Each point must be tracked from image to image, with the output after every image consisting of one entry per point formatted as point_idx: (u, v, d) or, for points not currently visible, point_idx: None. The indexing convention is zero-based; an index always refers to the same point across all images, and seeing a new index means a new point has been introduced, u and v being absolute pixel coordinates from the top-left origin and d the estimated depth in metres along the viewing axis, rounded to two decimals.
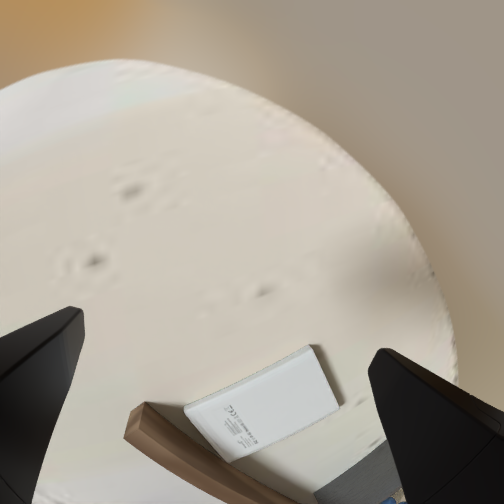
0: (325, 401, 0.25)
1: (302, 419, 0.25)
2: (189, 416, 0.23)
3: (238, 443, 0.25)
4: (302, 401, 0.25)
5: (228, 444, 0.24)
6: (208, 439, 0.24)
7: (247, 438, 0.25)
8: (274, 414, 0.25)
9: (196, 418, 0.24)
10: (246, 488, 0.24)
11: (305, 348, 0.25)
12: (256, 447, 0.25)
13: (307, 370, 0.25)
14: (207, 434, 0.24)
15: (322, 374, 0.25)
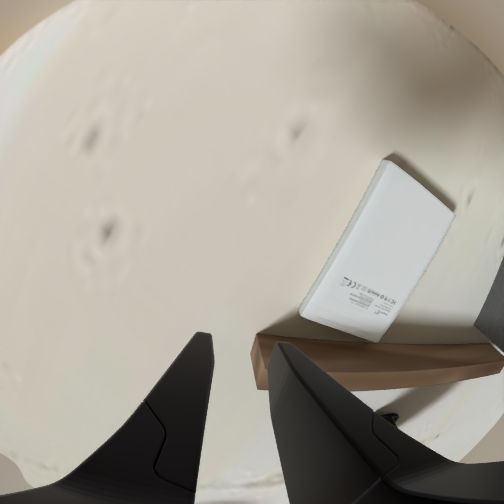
0: (437, 214, 0.20)
1: (426, 248, 0.21)
2: (310, 317, 0.21)
3: (377, 314, 0.22)
4: (415, 227, 0.20)
5: (368, 322, 0.22)
6: (344, 329, 0.22)
7: (383, 303, 0.22)
8: (395, 259, 0.21)
9: (318, 314, 0.21)
10: (410, 360, 0.23)
11: (382, 165, 0.19)
12: (397, 307, 0.22)
13: (399, 187, 0.19)
14: (340, 324, 0.22)
15: (417, 184, 0.19)
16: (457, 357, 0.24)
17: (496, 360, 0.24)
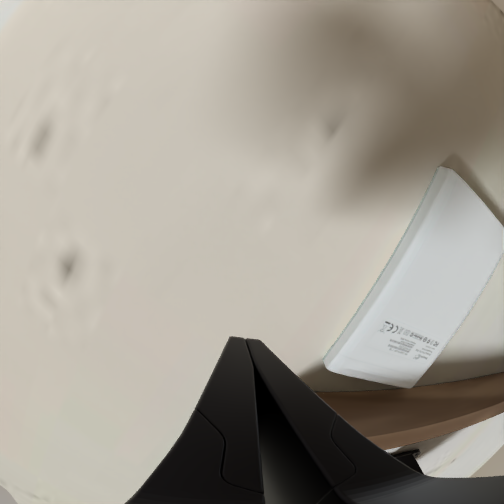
0: (494, 237, 0.14)
1: (479, 278, 0.15)
2: (338, 370, 0.16)
3: (416, 359, 0.16)
4: (471, 254, 0.14)
5: (405, 369, 0.17)
6: (377, 380, 0.16)
7: (424, 346, 0.16)
8: (445, 295, 0.15)
9: (349, 367, 0.16)
10: (446, 405, 0.17)
11: (440, 173, 0.13)
12: (439, 349, 0.16)
13: (460, 204, 0.13)
14: (373, 375, 0.16)
15: (479, 200, 0.13)
16: (490, 392, 0.19)
17: None
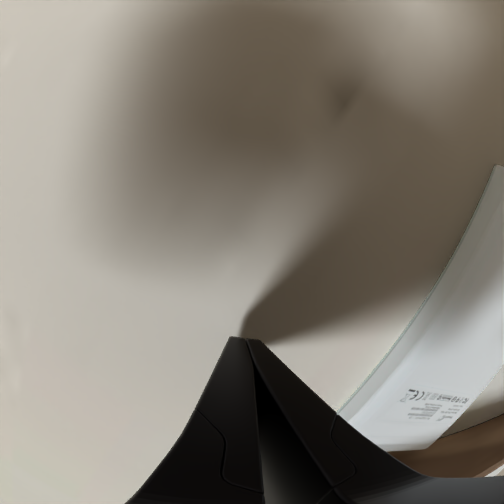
0: None
1: None
2: None
3: (439, 421, 0.11)
4: None
5: (424, 433, 0.11)
6: (388, 449, 0.11)
7: (452, 406, 0.11)
8: (487, 345, 0.09)
9: None
10: (465, 460, 0.12)
11: (498, 176, 0.07)
12: (467, 405, 0.11)
13: None
14: (384, 445, 0.11)
15: None
16: None
17: None
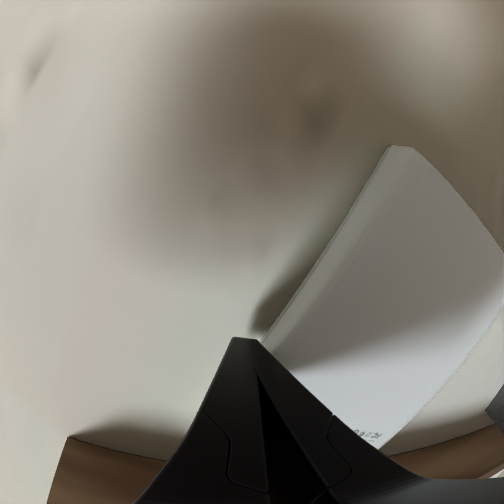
0: (494, 280, 0.08)
1: (460, 346, 0.09)
2: None
3: None
4: (448, 310, 0.08)
5: None
6: None
7: None
8: (393, 376, 0.09)
9: None
10: None
11: (390, 158, 0.07)
12: (382, 441, 0.10)
13: (430, 220, 0.07)
14: None
15: (469, 214, 0.07)
16: (450, 470, 0.12)
17: None
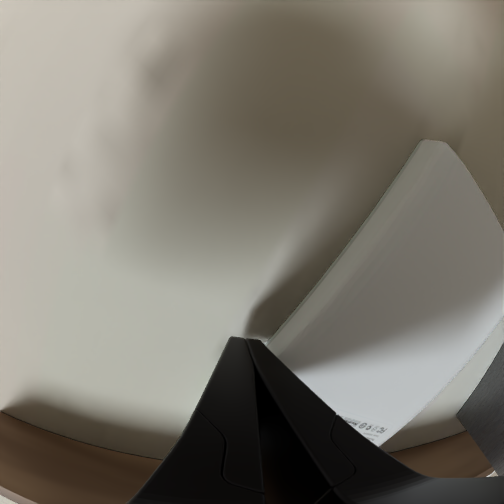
0: None
1: (468, 343, 0.09)
2: None
3: None
4: (463, 304, 0.08)
5: None
6: None
7: (361, 433, 0.10)
8: (407, 367, 0.09)
9: None
10: None
11: (423, 150, 0.07)
12: (386, 436, 0.10)
13: (456, 212, 0.07)
14: None
15: (489, 212, 0.07)
16: None
17: (488, 465, 0.11)
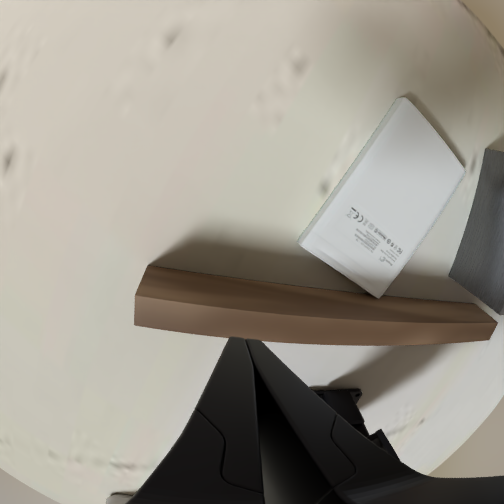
0: (448, 164, 0.18)
1: (436, 197, 0.19)
2: (310, 248, 0.19)
3: (381, 262, 0.20)
4: (426, 170, 0.18)
5: (371, 269, 0.20)
6: (345, 273, 0.20)
7: (389, 249, 0.20)
8: (404, 200, 0.19)
9: (320, 247, 0.19)
10: (353, 308, 0.20)
11: (397, 101, 0.17)
12: (403, 259, 0.21)
13: (413, 125, 0.17)
14: (341, 266, 0.20)
15: (431, 127, 0.17)
16: (426, 312, 0.21)
17: (482, 321, 0.21)
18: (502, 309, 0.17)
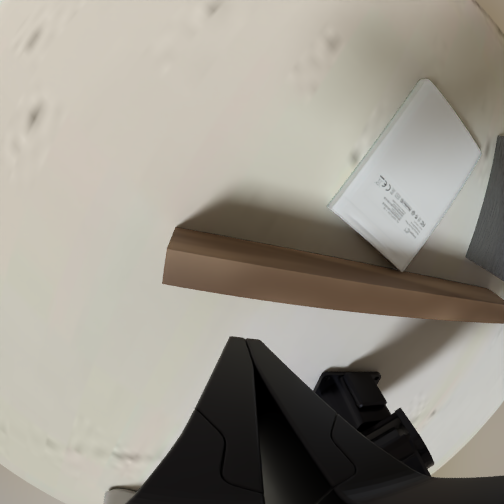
0: (466, 144, 0.18)
1: (456, 174, 0.19)
2: (341, 213, 0.19)
3: (406, 233, 0.20)
4: (447, 148, 0.18)
5: (397, 240, 0.20)
6: (373, 241, 0.20)
7: (413, 221, 0.20)
8: (428, 174, 0.19)
9: (350, 213, 0.19)
10: (381, 277, 0.19)
11: (420, 82, 0.17)
12: (425, 232, 0.20)
13: (435, 104, 0.17)
14: (369, 234, 0.20)
15: (450, 107, 0.17)
16: (448, 289, 0.21)
17: (498, 303, 0.21)
18: None
